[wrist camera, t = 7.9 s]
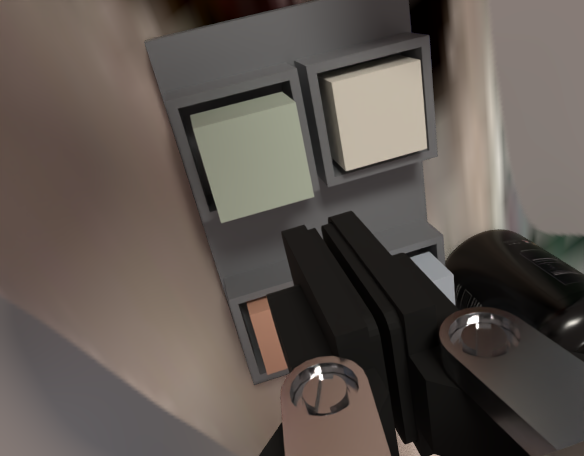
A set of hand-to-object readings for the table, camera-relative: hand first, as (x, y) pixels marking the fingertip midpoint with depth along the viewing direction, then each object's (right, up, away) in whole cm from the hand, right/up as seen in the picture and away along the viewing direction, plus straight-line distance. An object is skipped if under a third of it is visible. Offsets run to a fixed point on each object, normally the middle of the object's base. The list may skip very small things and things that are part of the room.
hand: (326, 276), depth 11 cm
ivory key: (+3, +7, +12) cm, 15 cm away
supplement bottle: (+12, -2, +21) cm, 24 cm away
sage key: (-3, +5, +10) cm, 12 cm away
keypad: (0, +2, +16) cm, 16 cm away
